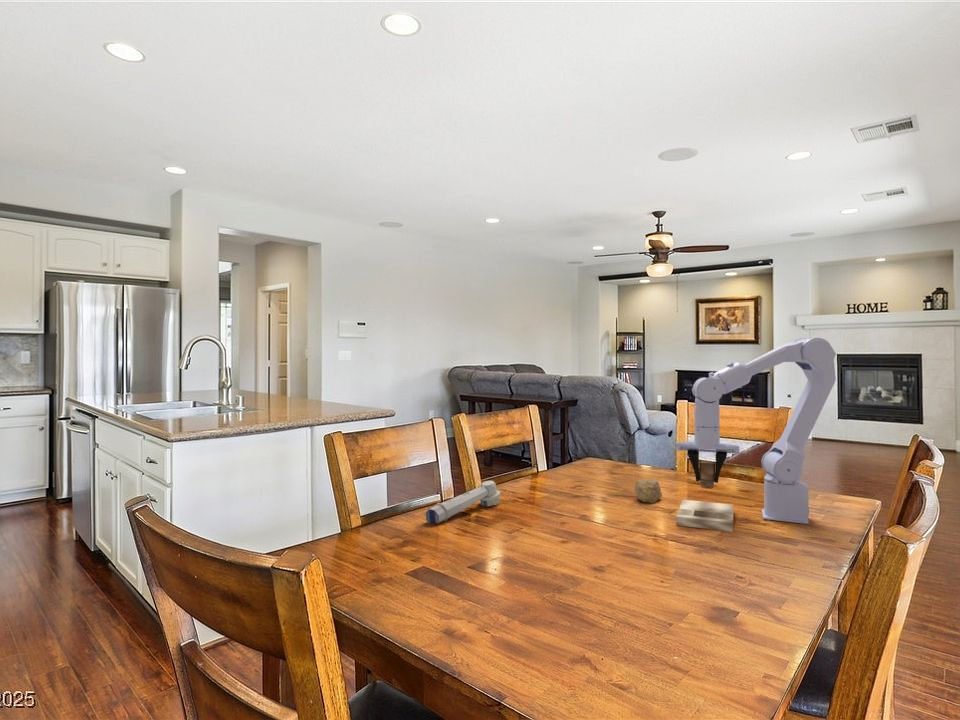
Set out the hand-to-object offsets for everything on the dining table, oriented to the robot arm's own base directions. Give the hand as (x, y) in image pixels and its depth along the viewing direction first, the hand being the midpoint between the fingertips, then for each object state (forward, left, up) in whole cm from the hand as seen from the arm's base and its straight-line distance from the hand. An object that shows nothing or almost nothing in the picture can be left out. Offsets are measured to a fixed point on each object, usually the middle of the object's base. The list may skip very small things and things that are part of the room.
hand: (707, 481), depth 138 cm
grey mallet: (+56, +23, -9) cm, 61 cm away
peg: (0, 0, -2) cm, 2 cm away
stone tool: (+15, -10, -9) cm, 20 cm away
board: (0, +4, -8) cm, 9 cm away
